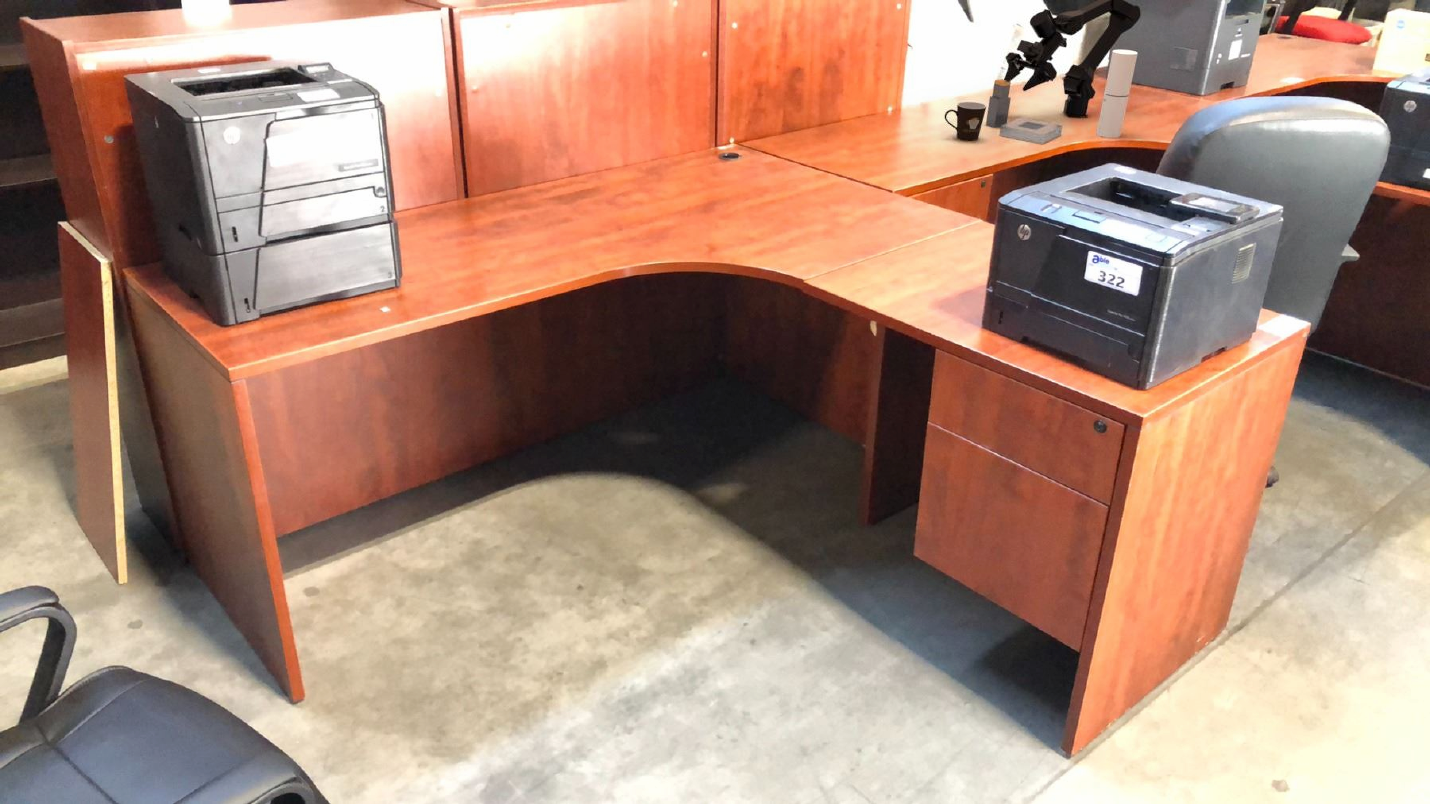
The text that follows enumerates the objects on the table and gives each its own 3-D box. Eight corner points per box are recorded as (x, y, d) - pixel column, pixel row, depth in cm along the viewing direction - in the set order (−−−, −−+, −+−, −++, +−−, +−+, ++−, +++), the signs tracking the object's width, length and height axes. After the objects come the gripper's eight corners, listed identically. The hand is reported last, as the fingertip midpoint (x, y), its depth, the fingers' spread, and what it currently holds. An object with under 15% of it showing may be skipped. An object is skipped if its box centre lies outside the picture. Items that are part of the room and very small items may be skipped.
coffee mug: (983, 136, 321) (987, 103, 316) (979, 143, 314) (984, 110, 309) (945, 132, 324) (949, 99, 319) (941, 139, 317) (945, 106, 312)
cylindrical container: (1108, 139, 321) (1125, 55, 308) (1091, 133, 326) (1107, 50, 314) (1125, 136, 324) (1142, 53, 311) (1108, 130, 329) (1124, 48, 317)
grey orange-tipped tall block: (997, 123, 335) (1004, 78, 328) (1006, 126, 332) (1013, 81, 325) (985, 125, 333) (992, 80, 326) (994, 128, 330) (1000, 83, 323)
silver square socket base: (1019, 126, 331) (1020, 117, 330) (1061, 135, 324) (1062, 125, 322) (999, 135, 322) (1000, 125, 320) (1041, 144, 314) (1043, 134, 313)
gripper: (1014, 25, 329) (982, 64, 330) (1056, 35, 315) (1022, 76, 316) (1029, 49, 337) (997, 87, 337) (1071, 60, 322) (1038, 100, 323)
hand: (1013, 87), depth 328 cm, fingers open, 9 cm apart
